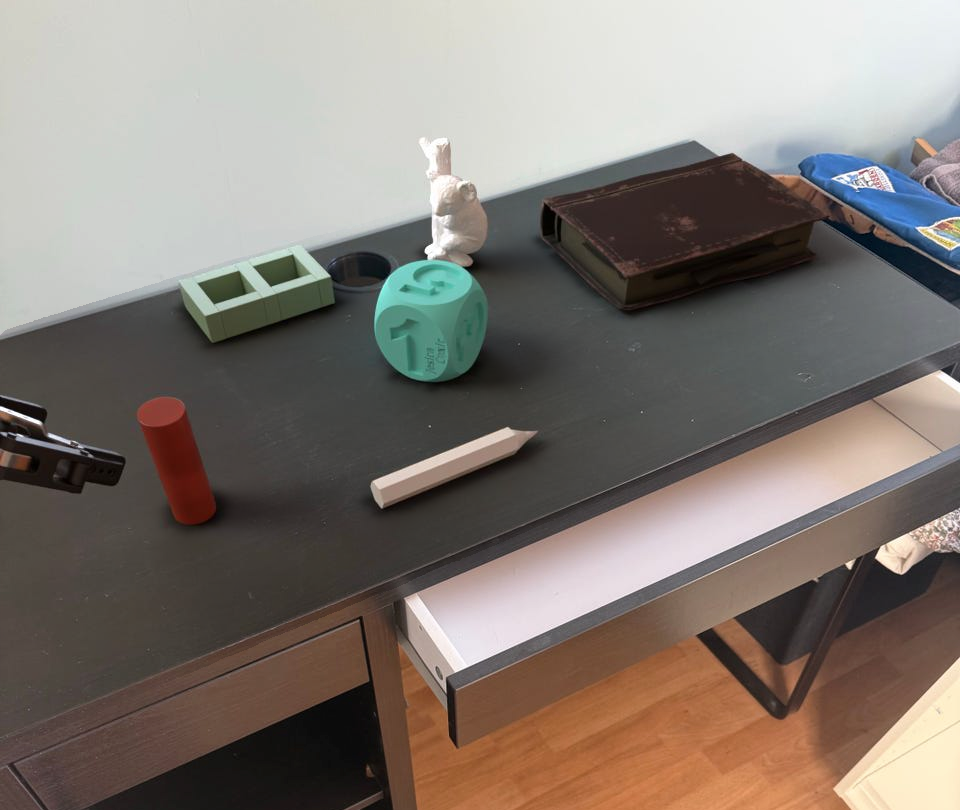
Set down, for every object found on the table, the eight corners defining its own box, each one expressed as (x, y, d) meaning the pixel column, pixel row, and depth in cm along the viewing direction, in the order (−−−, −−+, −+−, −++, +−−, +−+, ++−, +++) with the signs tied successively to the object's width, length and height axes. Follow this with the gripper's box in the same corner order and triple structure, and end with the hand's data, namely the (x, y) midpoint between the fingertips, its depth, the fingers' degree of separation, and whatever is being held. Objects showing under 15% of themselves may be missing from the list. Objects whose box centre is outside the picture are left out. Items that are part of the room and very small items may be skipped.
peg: (164, 517, 74) (126, 419, 66) (189, 491, 76) (155, 392, 68) (200, 529, 73) (166, 431, 65) (224, 502, 75) (194, 403, 67)
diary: (537, 237, 102) (539, 192, 98) (720, 190, 108) (729, 146, 104) (624, 321, 91) (631, 275, 87) (821, 263, 98) (835, 218, 94)
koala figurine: (405, 252, 100) (397, 138, 90) (457, 236, 102) (455, 122, 93) (444, 287, 95) (441, 171, 86) (498, 269, 98) (500, 154, 88)
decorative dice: (377, 369, 86) (369, 293, 80) (417, 327, 91) (412, 251, 85) (451, 392, 84) (449, 315, 78) (488, 347, 89) (489, 270, 82)
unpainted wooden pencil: (538, 446, 80) (380, 511, 75) (527, 426, 81) (368, 489, 75) (548, 434, 78) (385, 500, 73) (537, 413, 78) (373, 477, 73)
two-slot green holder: (212, 343, 89) (204, 316, 87) (185, 307, 93) (177, 280, 91) (335, 303, 94) (331, 276, 91) (304, 270, 98) (300, 244, 95)
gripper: (-78, 369, 44) (167, 435, 59) (-226, 276, 49) (33, 357, 64) (-122, 509, 46) (127, 538, 60) (-260, 404, 51) (0, 455, 66)
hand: (78, 445), depth 62 cm, fingers open, 8 cm apart
